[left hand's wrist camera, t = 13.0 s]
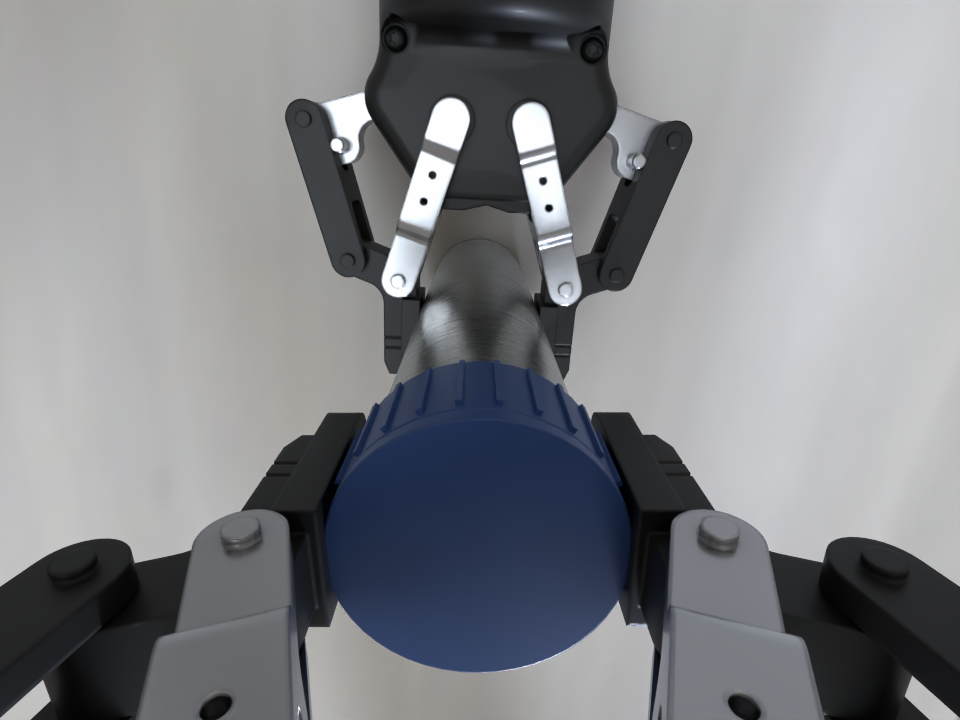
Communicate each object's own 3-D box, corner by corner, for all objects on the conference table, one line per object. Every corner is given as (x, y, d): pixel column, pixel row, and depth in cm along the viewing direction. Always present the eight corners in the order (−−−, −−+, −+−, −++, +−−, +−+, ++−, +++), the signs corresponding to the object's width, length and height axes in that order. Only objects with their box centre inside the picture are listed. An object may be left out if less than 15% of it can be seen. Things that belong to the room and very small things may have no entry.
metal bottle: (506, 337, 29) (555, 667, 10) (424, 311, 28) (316, 607, 10) (536, 255, 27) (658, 465, 9) (450, 226, 27) (382, 382, 8)
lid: (560, 598, 12) (580, 701, 10) (331, 550, 12) (295, 645, 9) (642, 392, 10) (688, 459, 8) (378, 327, 10) (347, 378, 8)
